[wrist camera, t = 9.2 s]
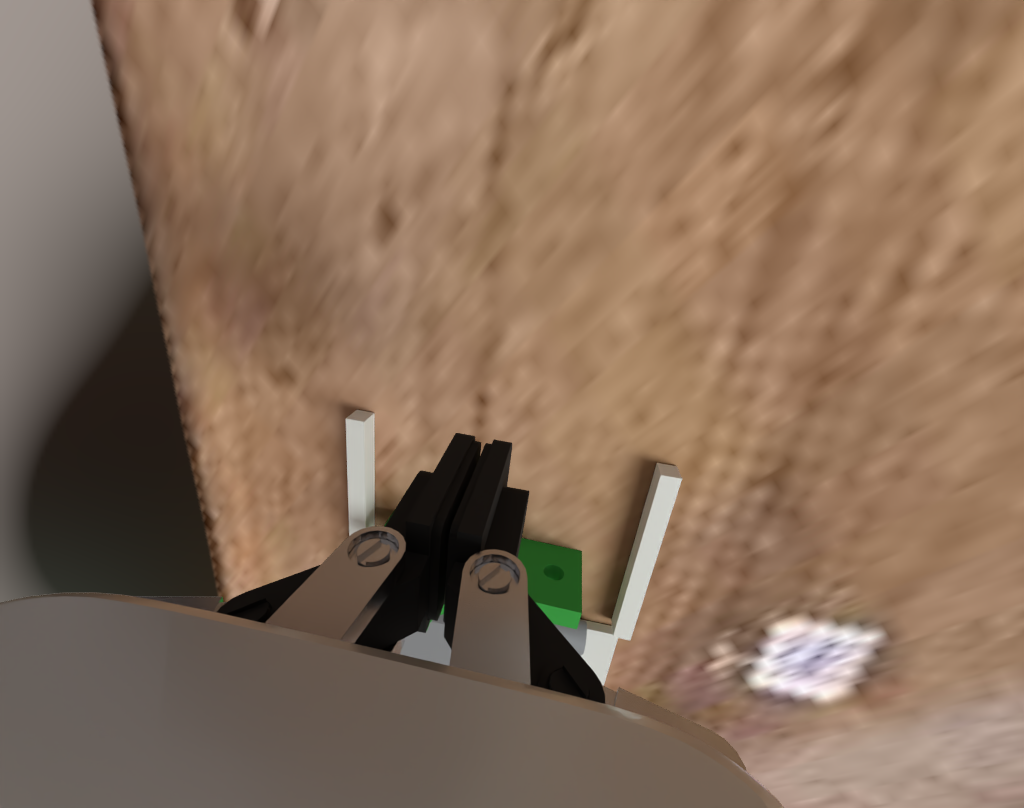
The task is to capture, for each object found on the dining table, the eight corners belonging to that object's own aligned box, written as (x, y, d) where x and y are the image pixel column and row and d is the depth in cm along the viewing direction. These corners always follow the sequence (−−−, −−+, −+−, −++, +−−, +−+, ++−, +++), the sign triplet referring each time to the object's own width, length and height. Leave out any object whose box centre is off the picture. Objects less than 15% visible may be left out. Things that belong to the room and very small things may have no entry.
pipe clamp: (393, 555, 27) (358, 615, 23) (396, 507, 26) (359, 561, 22) (569, 597, 26) (566, 668, 22) (582, 549, 25) (582, 615, 21)
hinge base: (356, 409, 23) (339, 423, 22) (677, 466, 22) (684, 485, 20) (361, 667, 31) (349, 692, 30) (597, 722, 30) (598, 751, 28)
